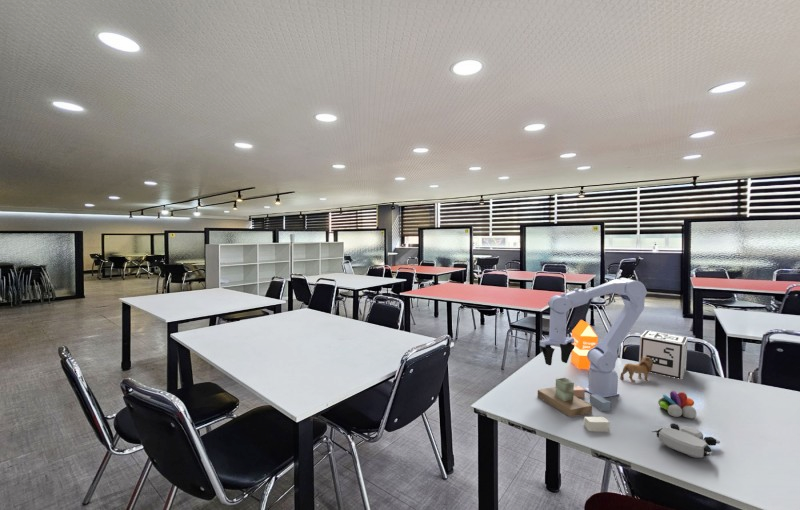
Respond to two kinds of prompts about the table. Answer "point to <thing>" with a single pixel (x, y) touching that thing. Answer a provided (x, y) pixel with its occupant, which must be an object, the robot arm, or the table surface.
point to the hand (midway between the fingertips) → (556, 363)
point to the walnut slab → (565, 403)
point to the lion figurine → (638, 368)
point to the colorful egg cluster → (678, 405)
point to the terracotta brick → (579, 392)
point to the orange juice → (582, 344)
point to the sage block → (564, 389)
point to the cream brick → (596, 423)
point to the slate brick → (600, 402)
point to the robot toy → (686, 440)
